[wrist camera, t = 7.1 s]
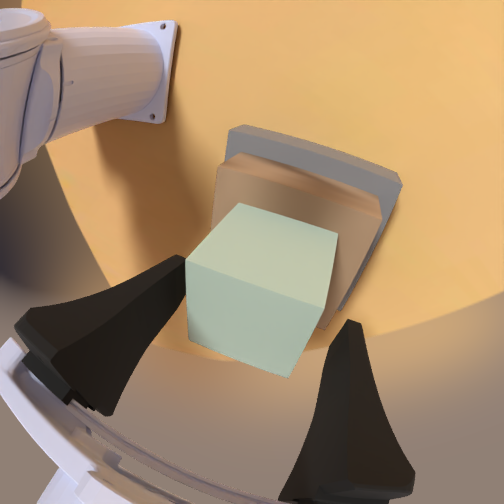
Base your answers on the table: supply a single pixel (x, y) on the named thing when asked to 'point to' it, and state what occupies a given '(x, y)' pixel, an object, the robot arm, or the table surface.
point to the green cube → (259, 287)
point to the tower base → (321, 170)
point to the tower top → (304, 211)
